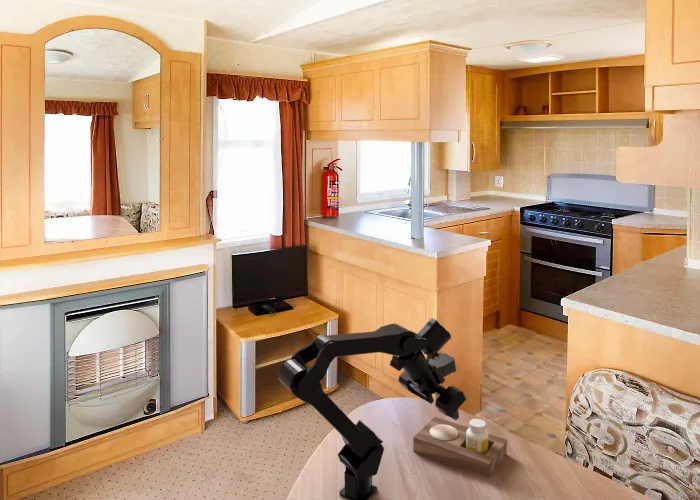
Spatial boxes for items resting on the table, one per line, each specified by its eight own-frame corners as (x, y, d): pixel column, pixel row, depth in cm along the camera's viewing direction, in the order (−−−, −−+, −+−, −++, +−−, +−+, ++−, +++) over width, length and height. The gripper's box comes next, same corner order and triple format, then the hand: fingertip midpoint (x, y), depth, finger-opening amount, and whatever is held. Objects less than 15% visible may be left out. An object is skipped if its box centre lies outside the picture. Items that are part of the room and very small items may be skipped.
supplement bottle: (485, 452, 135) (487, 417, 132) (489, 465, 129) (490, 429, 127) (464, 451, 135) (465, 416, 133) (466, 464, 130) (467, 428, 128)
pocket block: (488, 479, 124) (489, 462, 123) (413, 451, 136) (413, 435, 135) (506, 454, 134) (507, 438, 133) (434, 429, 145) (434, 415, 144)
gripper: (468, 358, 117) (493, 402, 124) (416, 332, 133) (441, 372, 140) (434, 393, 114) (462, 437, 121) (385, 363, 130) (412, 403, 137)
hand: (444, 410), depth 130 cm, fingers open, 9 cm apart
